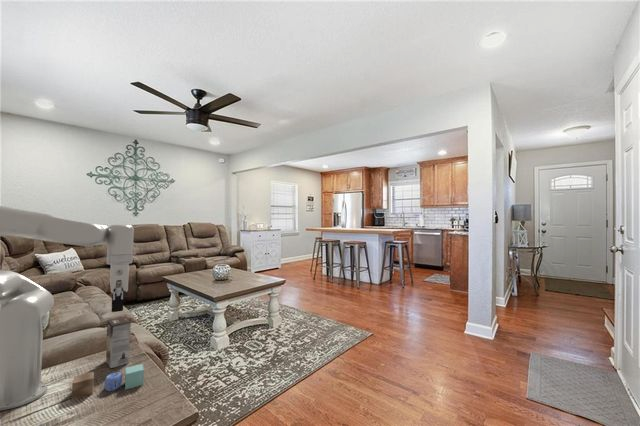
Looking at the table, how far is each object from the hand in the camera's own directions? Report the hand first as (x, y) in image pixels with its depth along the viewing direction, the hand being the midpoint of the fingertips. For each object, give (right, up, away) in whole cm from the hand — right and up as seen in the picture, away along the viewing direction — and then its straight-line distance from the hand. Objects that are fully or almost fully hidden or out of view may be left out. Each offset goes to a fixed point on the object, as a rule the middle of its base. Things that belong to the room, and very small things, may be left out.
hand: (117, 307), depth 100 cm
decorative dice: (+3, -25, -6) cm, 26 cm away
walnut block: (-4, -24, -10) cm, 26 cm away
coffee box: (-8, -25, +11) cm, 29 cm away
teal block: (+9, -25, -4) cm, 26 cm away
